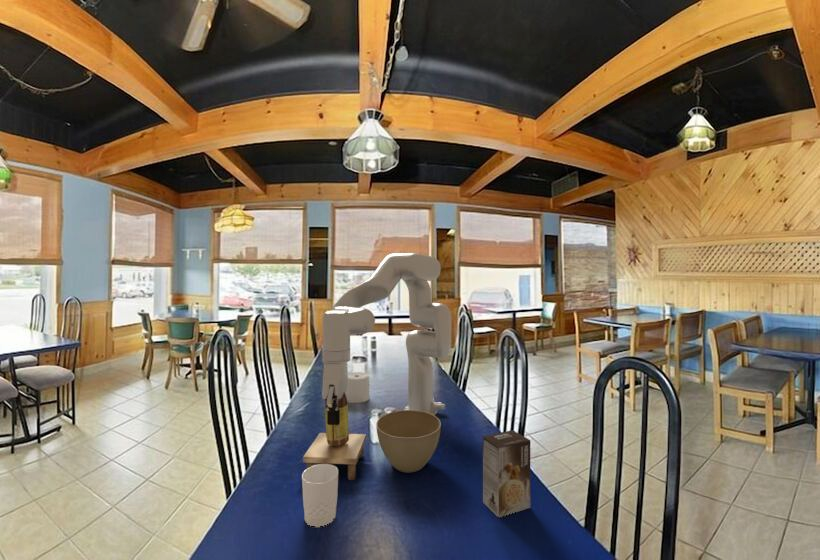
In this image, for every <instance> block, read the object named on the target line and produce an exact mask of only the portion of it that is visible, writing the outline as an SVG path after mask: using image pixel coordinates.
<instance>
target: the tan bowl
mask: <svg viewBox="0 0 820 560" xmlns="http://www.w3.org/2000/svg"><path fill="white" fill-rule="evenodd" d="M375 423H376V424H375V425H376V433H377V439H378V442H379V445H380V447H381V450H382V452H383V454H384V456H385V457H386V459H387V460H388V462H389V464H391V465H392V467H394V468H395V470H396V471H399V472H402V473H409V474H411V473H415V472H418V471H421V469H423V467H425V465H427V463H428V462H429V461H430V459H431V458H432V456H433V455H434V453H435V451H436V448H437V446H438V444H439V440H440V435H441V427H442V423H441V420H440V418H438V416H436V415H432V414H430V413H427V412H423V411H417V410H404V409H401V410H395V411H392V412H388V413H386V414H384V415H381V416H380V417H379V418H378V419H377V421H376V422H375Z"/></svg>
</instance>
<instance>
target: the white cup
mask: <svg viewBox="0 0 820 560" xmlns="http://www.w3.org/2000/svg"><path fill="white" fill-rule="evenodd" d="M301 481H302V482H301V483H302V484H301V486H302V503H303V511H304V514H303V515H304V521H305V524H306V523H307V524H306V525H308V526H309V525H310V526H309V527H311V526H315V527H314V528H321V527H320V526H323V527H325V526H324V525H326V526H328V525H330V524H332V523H333V521H334V520H335V519H336V514H337V504H338V491H339V489H338V488H339V468H338V467H337V466H336V465H334V464H331V463H317V464H315V465H314V466H311V467H309V468H307V467H306V469H305V470H304V471H302V474H301ZM334 518H335V519H334ZM333 519H334V520H333ZM329 523H330V524H329ZM327 524H328V525H327Z"/></svg>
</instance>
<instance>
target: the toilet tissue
mask: <svg viewBox="0 0 820 560" xmlns="http://www.w3.org/2000/svg"><path fill="white" fill-rule="evenodd" d="M345 394H346V398H347V402H348V403H349V404H361V403H365V402H368V401H369V400H370V374H369V373H367V372H362V371H360V372H359V371H354V372H350V373H349V372H348V388H347V390H346V392H345Z"/></svg>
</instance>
